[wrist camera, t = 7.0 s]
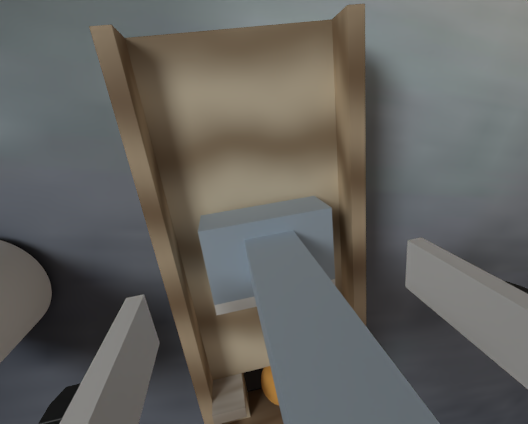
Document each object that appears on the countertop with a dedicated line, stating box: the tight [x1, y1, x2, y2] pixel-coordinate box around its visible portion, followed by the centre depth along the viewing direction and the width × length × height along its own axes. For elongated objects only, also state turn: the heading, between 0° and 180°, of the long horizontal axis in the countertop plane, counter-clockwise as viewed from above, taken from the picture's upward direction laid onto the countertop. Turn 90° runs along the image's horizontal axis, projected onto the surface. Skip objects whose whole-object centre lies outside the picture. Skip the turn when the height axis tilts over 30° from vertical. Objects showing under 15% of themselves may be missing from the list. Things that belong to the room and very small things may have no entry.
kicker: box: [198, 196, 440, 424], centre depth 12 cm, size 6×8×15 cm
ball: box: [261, 366, 279, 406], centre depth 25 cm, size 4×4×4 cm
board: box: [89, 4, 366, 424], centre depth 20 cm, size 32×14×6 cm, turn 8°
